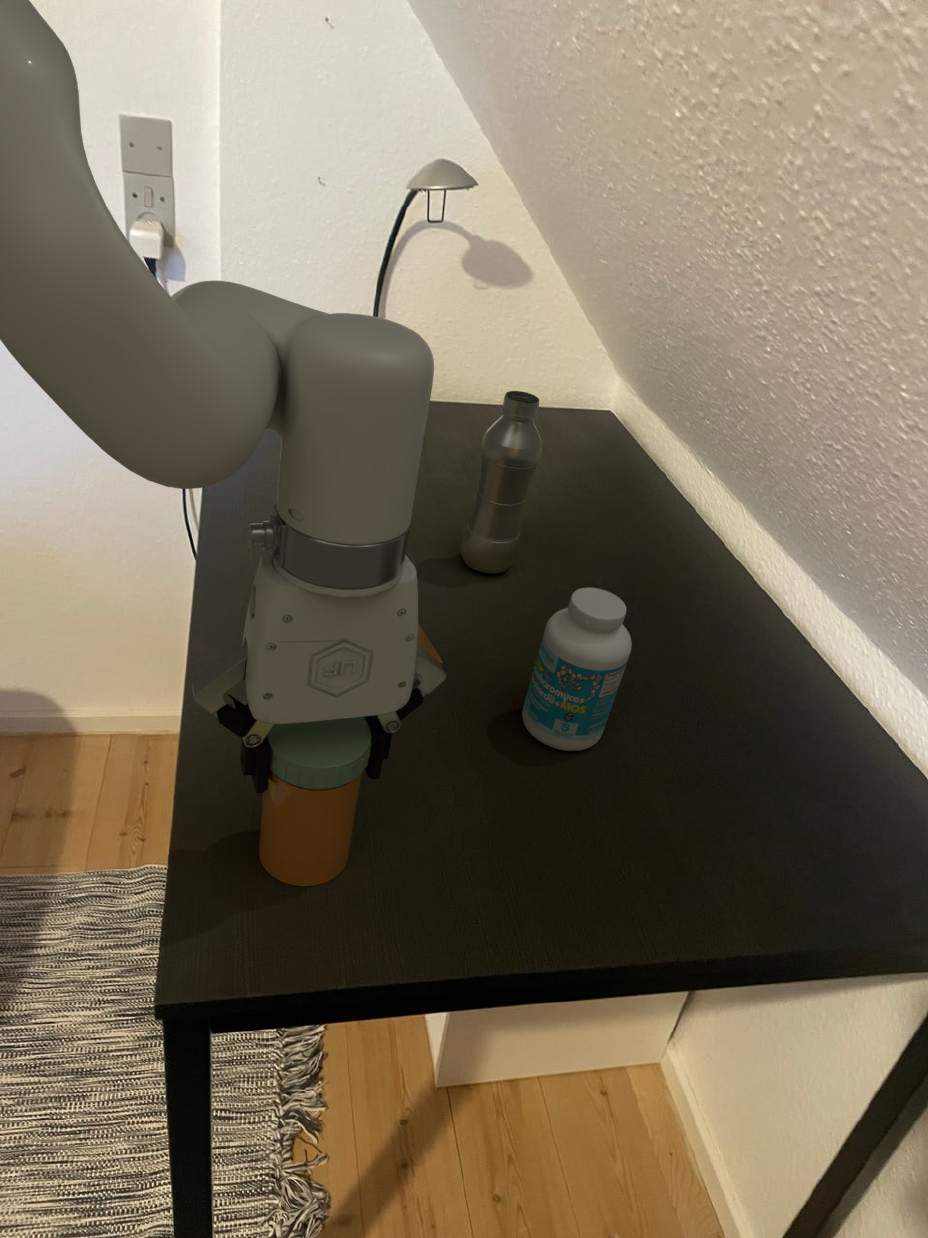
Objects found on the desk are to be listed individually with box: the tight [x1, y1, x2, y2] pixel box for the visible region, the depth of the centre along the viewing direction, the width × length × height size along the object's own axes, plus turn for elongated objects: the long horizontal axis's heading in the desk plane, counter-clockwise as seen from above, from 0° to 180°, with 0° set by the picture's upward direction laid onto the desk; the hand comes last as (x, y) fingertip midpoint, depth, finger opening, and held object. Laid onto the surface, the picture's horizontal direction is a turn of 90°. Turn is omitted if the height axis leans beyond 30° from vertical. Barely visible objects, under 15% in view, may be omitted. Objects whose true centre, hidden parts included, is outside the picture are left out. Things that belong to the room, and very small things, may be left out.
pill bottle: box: [521, 587, 633, 752], centre depth 81 cm, size 8×7×14 cm
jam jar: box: [258, 768, 363, 887], centre depth 65 cm, size 6×6×11 cm
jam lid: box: [267, 717, 372, 789], centre depth 62 cm, size 7×7×2 cm
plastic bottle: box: [460, 390, 543, 574], centre depth 102 cm, size 6×7×20 cm
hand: (314, 770), depth 63 cm, fingers closed on jam lid, 7 cm apart
